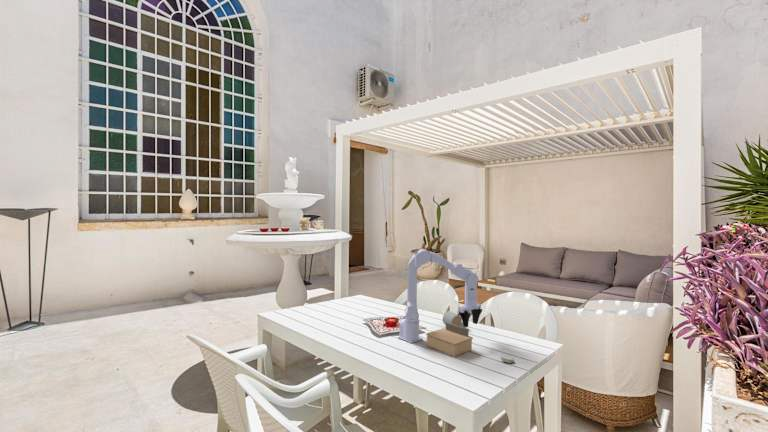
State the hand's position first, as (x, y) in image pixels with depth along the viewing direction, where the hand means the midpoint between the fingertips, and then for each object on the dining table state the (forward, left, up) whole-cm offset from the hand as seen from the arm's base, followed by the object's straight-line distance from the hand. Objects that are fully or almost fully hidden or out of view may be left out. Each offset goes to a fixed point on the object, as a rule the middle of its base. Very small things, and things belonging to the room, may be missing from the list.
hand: (470, 324), depth 173 cm
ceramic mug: (-19, +11, -8) cm, 23 cm away
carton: (0, -16, -8) cm, 18 cm away
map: (+20, -2, -8) cm, 22 cm away
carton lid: (0, -16, -2) cm, 16 cm away
